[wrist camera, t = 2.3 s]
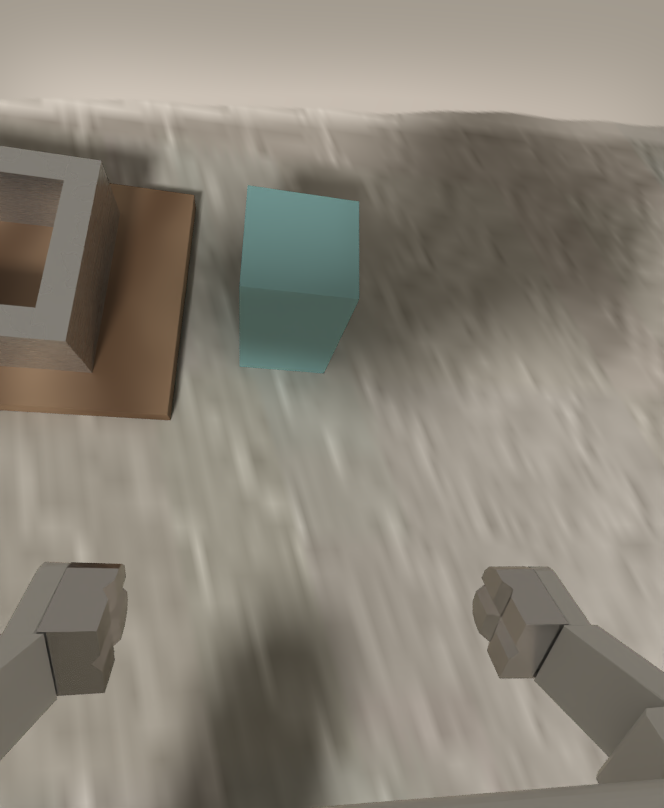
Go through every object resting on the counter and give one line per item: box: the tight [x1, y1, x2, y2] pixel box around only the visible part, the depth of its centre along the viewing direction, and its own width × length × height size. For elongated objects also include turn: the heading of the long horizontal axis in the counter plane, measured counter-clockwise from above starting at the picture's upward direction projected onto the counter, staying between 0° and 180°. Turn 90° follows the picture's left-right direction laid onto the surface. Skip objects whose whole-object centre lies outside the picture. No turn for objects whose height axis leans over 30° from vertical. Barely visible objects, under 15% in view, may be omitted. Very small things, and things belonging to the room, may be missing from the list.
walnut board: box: [0, 183, 196, 420], centre depth 26 cm, size 18×14×1 cm
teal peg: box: [239, 185, 359, 373], centre depth 24 cm, size 5×5×9 cm
